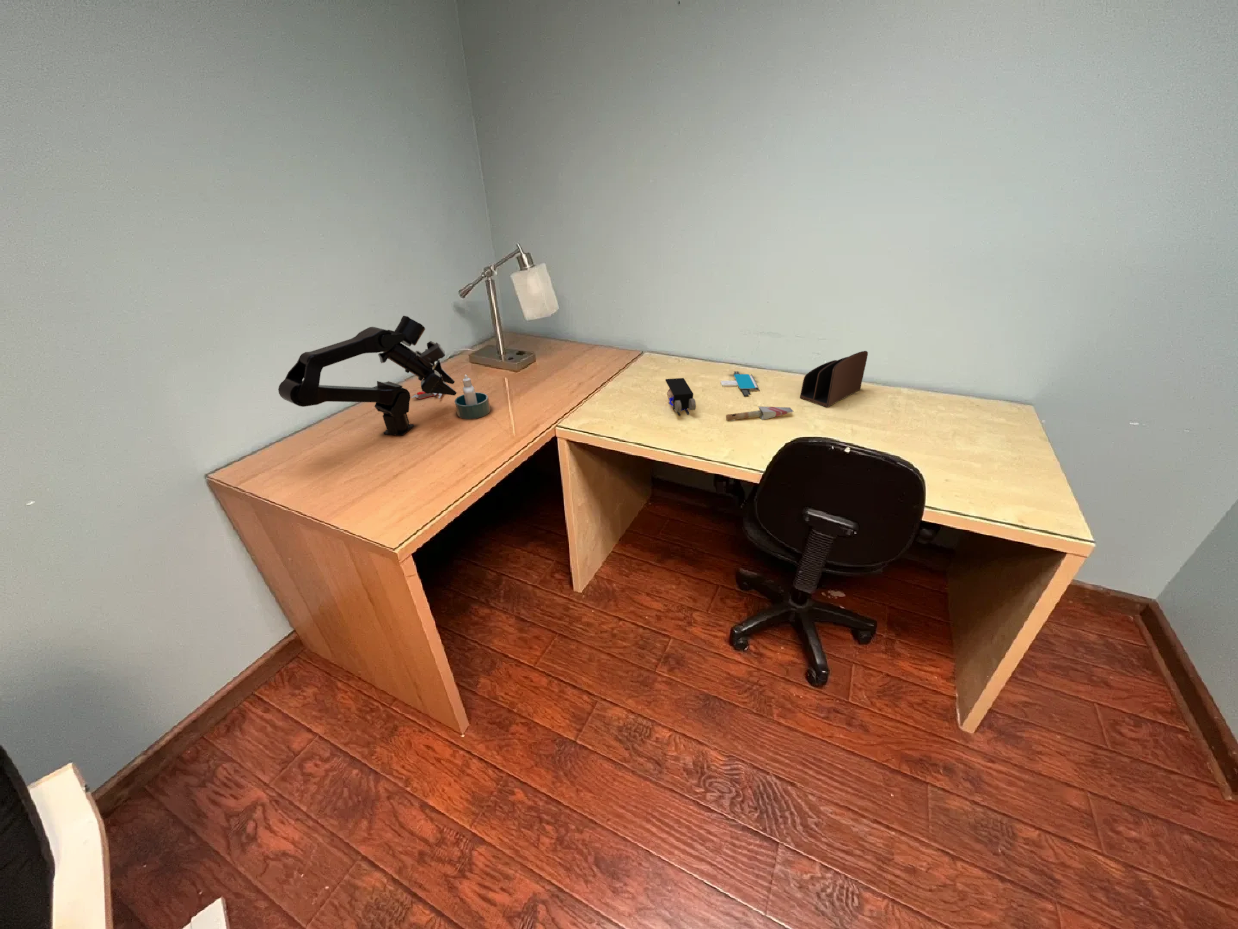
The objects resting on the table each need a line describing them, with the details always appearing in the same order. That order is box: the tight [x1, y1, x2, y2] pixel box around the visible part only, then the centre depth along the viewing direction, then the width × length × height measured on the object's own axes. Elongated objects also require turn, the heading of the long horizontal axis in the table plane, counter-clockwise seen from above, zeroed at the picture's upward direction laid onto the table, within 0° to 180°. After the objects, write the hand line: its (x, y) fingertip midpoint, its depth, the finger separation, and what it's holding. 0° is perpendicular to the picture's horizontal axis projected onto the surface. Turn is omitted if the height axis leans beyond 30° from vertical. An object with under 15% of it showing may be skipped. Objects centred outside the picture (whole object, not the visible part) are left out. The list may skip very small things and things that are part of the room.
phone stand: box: [719, 370, 761, 398], centre depth 167 cm, size 20×12×2 cm, turn 178°
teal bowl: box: [454, 391, 491, 420], centre depth 155 cm, size 10×10×4 cm
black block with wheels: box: [665, 377, 697, 417], centre depth 152 cm, size 7×8×15 cm
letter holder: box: [799, 350, 869, 408], centre depth 155 cm, size 10×20×14 cm, turn 130°
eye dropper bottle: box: [462, 374, 477, 406], centre depth 153 cm, size 4×6×12 cm
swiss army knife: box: [410, 390, 443, 400], centre depth 167 cm, size 12×14×2 cm
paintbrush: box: [725, 405, 794, 422], centre depth 146 cm, size 4×3×20 cm
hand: (454, 388), depth 150 cm, fingers open, 9 cm apart
